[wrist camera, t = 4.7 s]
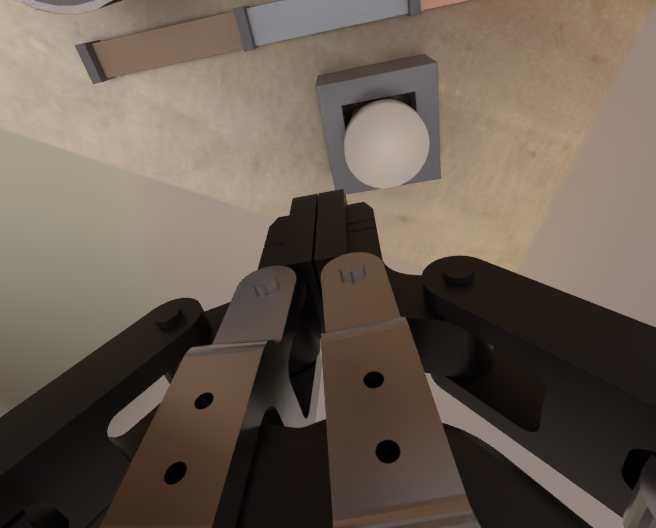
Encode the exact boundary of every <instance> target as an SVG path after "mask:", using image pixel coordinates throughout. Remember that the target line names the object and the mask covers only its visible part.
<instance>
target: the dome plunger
mask: <svg viewBox="0 0 656 528" xmlns="http://www.w3.org/2000/svg"><path fill="white" fill-rule="evenodd" d="M344 152H345V159H346V162H347V165H348V167H349V169H350V171H351V172H352V173H353V175H354V176H355V177H356V178H357V179H358V180H360V181H361V182H363V183H364V184H366V185H369V186H372V187H375V188H392V187H396V186H399V185H402V184H404V183H406V182H407V181H409V180H410V179H412V178H413V177H414V176H415V175H416V174H417V173H418V172H419V171H420V169H421V168H422V166H423V165H424V163H425V161H426V158H427V155H428V152H429V135H428V131H427V128H426V126H425V124H424V122H423V121H422V119H421V118H420V116H419V115H418V114H417V112H416V111H415V110H414V109H413V108H411V107H410V106H409V105H407V104H405V103H403V102H400V101H397V100H395V99H394V98H392V97H390V96H388V97H383V98H378V99H373V100H368V101H362V102H359V103H358V105H357V106H356V108H355V109H354V111H353V114H352V119H351V121H350V122H349V124H348V126H347V129H346V132H345V137H344Z"/></svg>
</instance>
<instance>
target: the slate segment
mask: <svg viewBox="0 0 656 528" xmlns="http://www.w3.org/2000/svg"><path fill="white" fill-rule="evenodd" d="M233 11H234V15H235V18H236V22H237V26H238V30H239V33H240V37H241V41H242V45H243V48H244V52H245V51H249V50H254V49H256V48H257V47H259V46H260V45H264V44H269V43H273V42H278V41H283V40H287V39H292V38H297V37H301V36H306V35H311V34H315V33H320V32H324V31H329V30H334V29H338V28H343V27H348V26H352V25H357V24H362V23H366V22H371V21H375V20H380V19H385V18H389V17H394V16H399V15H403V14H408V0H282V1H277V2H273V3H268V4H264V5H260V6H255V7H251V8H250V7H249V6H247V7H240V8H236V9H233Z"/></svg>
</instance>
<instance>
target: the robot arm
mask: <svg viewBox="0 0 656 528" xmlns="http://www.w3.org/2000/svg"><path fill="white" fill-rule="evenodd" d="M264 247H265V248H264V249H263V252H262V256H261V260H260V263H259V267H258V270H256V271H254V272H252V273H251V274H249V275H248V276H246V277H245V278H244V279H243V280H242V281H241V282H240V283H239V285H238V286H237V289H236V291H235V293H234V296H233V298H232V300H231V302H229V303H226V304H224V305H221V306H218V307H216V308H213V309H210V310H208V311H205V312H204V310H203V308H202V306H201V304H200V303H199V302H198V301H197V300H195V299H192V298H180V299H175V300H172V301H169V302H166V303H164V304H162V305H160V306H158V307H157V308H155V309H154V310H152V311H151V312H149V313H148V314H147V315H145V316H144V317H143V318H141V319H139V320H138V321H137V322H135V323H134V324H132V325H131V326H129V327H128V328H127V329H125V330H124V331H123V332H121V333H120V334H118V335H117V336H115V337H114V338H113V339H111V340H110V341H108V342H107V343H105V344H104V345H103V346H101V347H100V348H98V349H97V350H95V351H94V352H93V353H91V354H90V355H88V356H87V357H86V358H84V359H83V360H81V361H80V362H78V363H77V364H76V365H74V366H73V367H71V368H70V369H68V370H67V371H66V372H64V373H63V374H61V375H60V376H59V377H57V378H56V379H54V380H53V381H51V382H50V383H49V384H47V385H46V386H45V387H43V388H42V389H40V390H39V391H37V392H36V393H35V394H33V395H32V396H30V397H29V398H27V399H26V400H25V401H23V402H22V403H20V404H19V405H17V406H16V407H15V408H13V409H12V410H10V411H9V412H8V413H6V414H5V415H3V416H2V417H0V528H593V527H592V526H590V525H589V524H588V523H587V522H585V521H584V520H583V519H582V518H580V517H579V516H578V515H576V514H575V513H574V512H573V511H572V510H570V509H569V508H568V507H567V506H565V505H564V504H563V503H562V502H561V501H559V500H558V499H557V498H556V497H554V496H553V495H552V494H551V493H550V492H548V491H547V490H546V489H545V488H543V487H542V486H541V485H540V484H538V483H537V482H536V481H535V480H533V479H532V478H531V477H530V476H528V475H527V474H526V473H525V472H524V471H522V470H521V469H520V468H518V467H517V466H516V465H515V464H514V463H512V462H511V461H510V460H509V459H507V458H506V457H505V456H504V455H503V454H501V453H500V452H499V451H497V450H496V449H495V448H493V447H492V446H490V445H489V444H487V443H486V442H484V441H482V440H481V439H479V438H478V437H476V436H474V435H472V434H470V433H467V432H465V431H463V430H461V429H459V428H455V427H453V426H450V425H448V424H443V423H442V422H441V419H440V416H439V413H438V410H437V407H436V404H435V402H434V399H433V396H432V393H431V390H430V387H429V384H428V381H427V378H426V375H425V373H430V374H431V377H432V378H433V380H434V382H435V383H436V384H437V385H438V386H439V387H441V388H442V389H443V390H445V391H446V392H447V393H449V394H450V395H452V396H453V397H454V398H456V399H457V400H459V401H460V402H461V403H463V404H464V405H466V406H467V407H468V408H470V409H471V410H473V411H474V412H475V413H477V414H478V415H480V416H481V417H482V418H484V419H485V420H487V421H488V422H489V423H491V424H492V425H494V426H495V427H496V428H498V429H499V430H501V431H502V432H503V433H505V434H506V435H507V436H509V437H510V438H512V439H513V440H514V441H516V442H517V443H519V444H520V445H521V446H523V447H524V448H526V449H527V450H528V451H530V452H531V453H533V454H534V455H535V456H537V457H538V458H540V459H541V460H542V461H544V462H545V463H547V464H548V465H550V466H551V467H552V468H554V469H555V470H556V471H558V472H559V473H561V474H562V475H563V476H565V477H566V478H568V479H569V480H570V481H572V482H573V483H575V484H576V485H577V486H579V487H580V488H582V489H583V490H584V491H586V492H587V493H589V494H590V495H591V496H593V497H594V498H595V499H597V500H598V501H600V502H601V503H602V504H604V505H606V506H607V507H608V508H609V509H611V510H612V511H614V512H615V513H616V514H618V515H619V516H621V517H622V518H623V525H624V528H656V327H653V326H650V325H648V324H645V323H643V322H640V321H638V320H635V319H632V318H630V317H627V316H625V315H622V314H619V313H617V312H614V311H612V310H609V309H606V308H604V307H602V306H599V305H596V304H594V303H591V302H589V301H586V300H584V299H581V298H578V297H576V296H573V295H571V294H568V293H565V292H563V291H560V290H558V289H555V288H553V287H550V286H548V285H545V284H542V283H540V282H537V281H535V280H532V279H530V278H527V277H524V276H522V275H519V274H517V273H514V272H512V271H509V270H506V269H504V268H501V267H499V266H496V265H494V264H491V263H488V262H486V261H483V260H481V259H478V258H474V257H470V256H449V257H444V258H441V259H438V260H436V261H434V262H432V263H431V264H429V265H428V266H427V267H426V268H425V270H424V271H423V273H422V275H408V274H402V273H399V272H396V271H393V270H392V269H390V268H388V267H387V266H386V265H385V264H384V262H383V260H382V255H381V250H380V244H379V239H378V233H377V228H376V223H375V217H374V212H373V209H372V208H371V207H370V206H369V205H367V204H366V203H365V202H361V203H356V204H350V205H347V201H346V196H345V191H344V189H340V190H334V191H329V192H324V193H319V195H318V194H313V195H308V196H302V197H297V198H293V200H292V205H291V210H290V215H289V216H284V217H278V218H277V220H276V221H275V222H274V223H273V224H272V225H271V226H270V227H269V230H268V234H267V239H266V241H265V245H264ZM320 339H321V350H322V358H321V355H320ZM322 365H323V380H324V393H325V394H324V395H325V410H326V419H325V420H322V421H319V422H317V423H315V418H316V410H317V403H318V395H319V387H320V378H321V370H322ZM163 375H164V376H165V377H166V379H167V380H168V382H169V383H170V386H169V388H168V390H167V392H166V394H165V396H164V398H163V400H162V402H161V403H160V404H159V405H158V406H156V407H155V408H154V409H153V410H152V411H151V412H150V413H148V414H147V415H146V416H145V417H144V418H143V419H141V420H140V421H139V422H138V423H137V424H136V425H135V426H134V427H132V428H131V429H130V430H129V431H128V432H126V433H125V434H123V435H122V436H119V437H114V438H113V437H108V435H107V429H108V426H109V423H110V422H111V420H112V419H113V417H114V416H115V415H116V414H117V413H118V412H119V411H121V410H122V409H123V408H124V407H126V406H127V405H128V404H129V403H130V402H132V401H133V400H134V399H135V398H136V397H138V396H139V395H140V394H141V393H142V392H144V391H145V390H146V389H147V388H148V387H150V386H151V385H152V384H153V383H154V382H156V381H157V380H158V379H159V378H160V377H162V376H163Z"/></svg>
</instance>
